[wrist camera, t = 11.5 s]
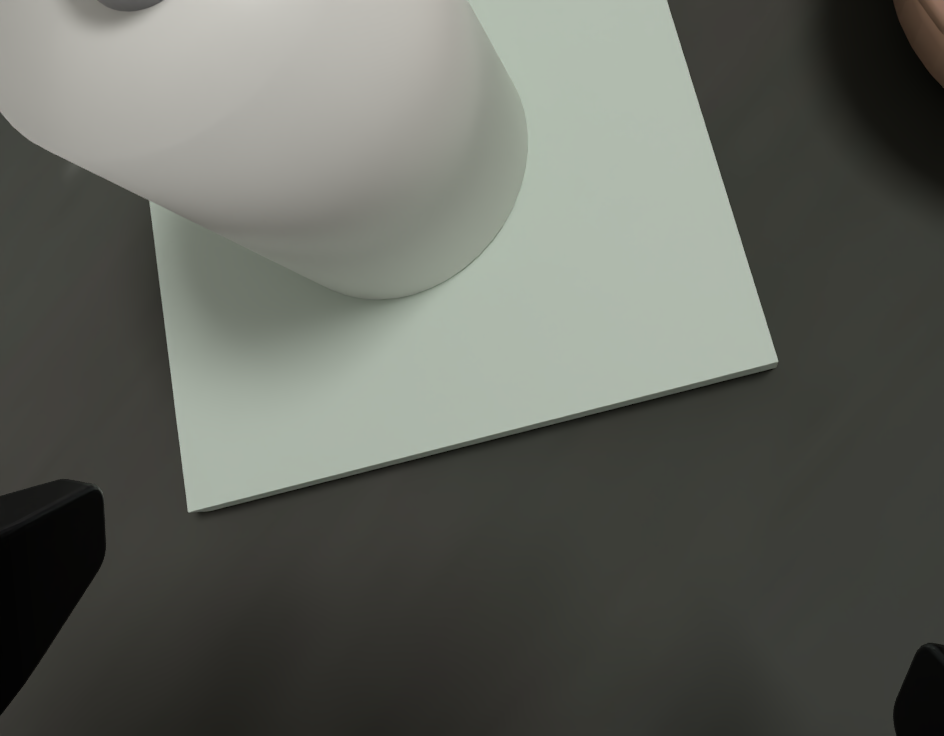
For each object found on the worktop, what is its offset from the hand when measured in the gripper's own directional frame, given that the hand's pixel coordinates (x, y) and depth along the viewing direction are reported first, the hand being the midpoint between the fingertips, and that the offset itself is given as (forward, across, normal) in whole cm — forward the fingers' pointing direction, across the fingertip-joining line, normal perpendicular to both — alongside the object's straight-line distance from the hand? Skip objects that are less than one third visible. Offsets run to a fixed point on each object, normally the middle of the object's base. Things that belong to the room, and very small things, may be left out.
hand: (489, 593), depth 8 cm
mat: (+12, +4, -3) cm, 13 cm away
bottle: (+12, +4, -3) cm, 13 cm away
